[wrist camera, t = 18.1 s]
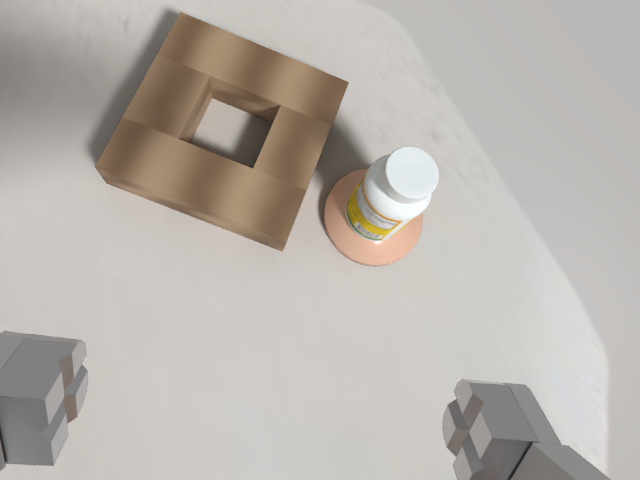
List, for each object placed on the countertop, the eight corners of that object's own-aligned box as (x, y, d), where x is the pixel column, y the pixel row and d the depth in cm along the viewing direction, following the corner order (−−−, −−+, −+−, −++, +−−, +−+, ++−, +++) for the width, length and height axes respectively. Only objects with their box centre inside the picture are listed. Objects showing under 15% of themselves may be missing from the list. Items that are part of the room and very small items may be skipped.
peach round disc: (309, 244, 42) (311, 241, 41) (341, 158, 45) (344, 153, 44) (403, 280, 43) (407, 278, 42) (429, 193, 45) (433, 190, 44)
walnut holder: (106, 183, 40) (94, 166, 37) (184, 38, 45) (180, 12, 42) (282, 251, 41) (286, 241, 38) (340, 102, 46) (348, 82, 43)
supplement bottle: (353, 248, 42) (387, 214, 32) (337, 191, 43) (365, 143, 34) (409, 235, 43) (457, 199, 34) (392, 181, 44) (434, 131, 35)
